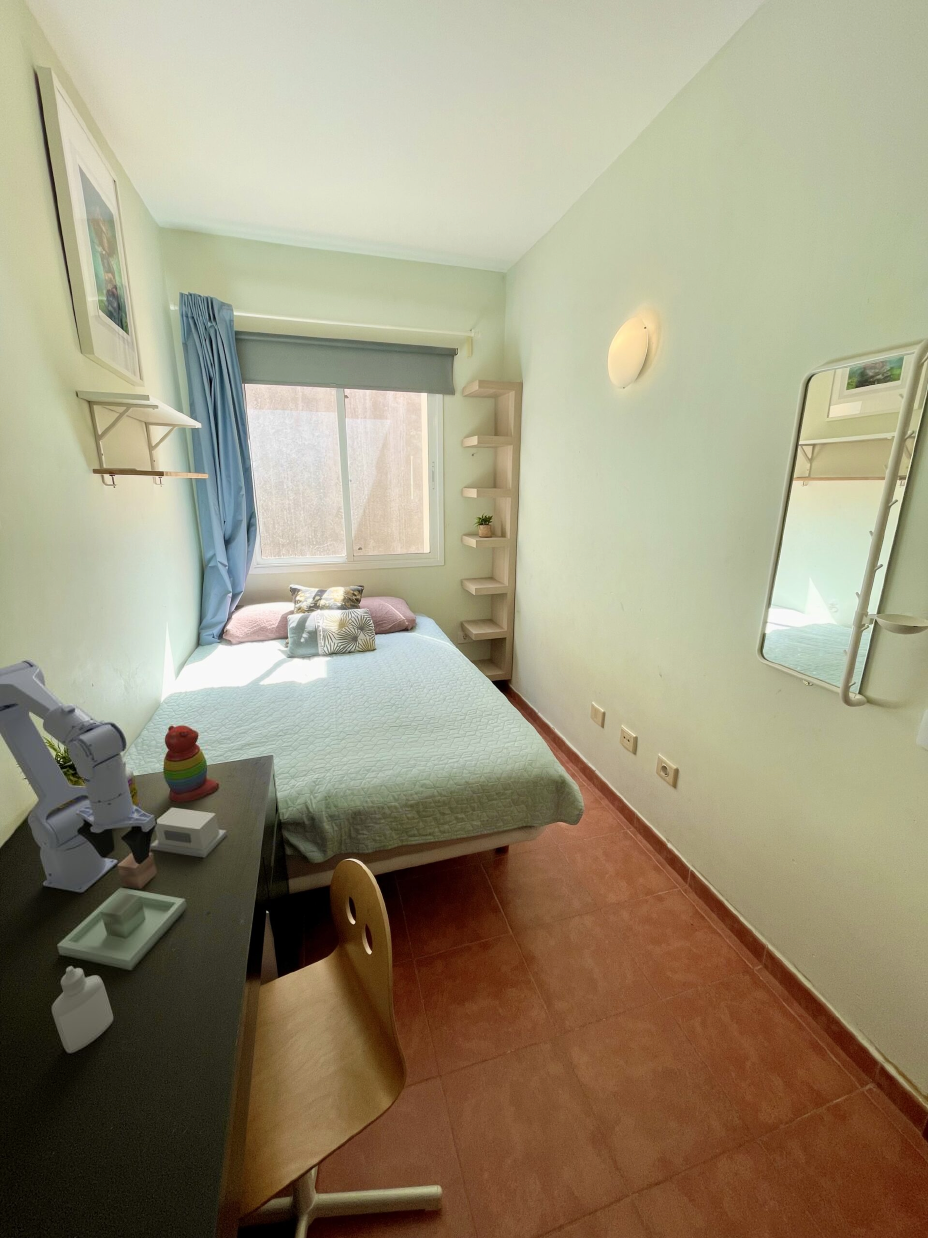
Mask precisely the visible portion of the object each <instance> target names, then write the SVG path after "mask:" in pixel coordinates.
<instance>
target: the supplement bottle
mask: <svg viewBox="0 0 928 1238" xmlns="http://www.w3.org/2000/svg"><path fill="white" fill-rule="evenodd" d="M122 760H123V764H124V769H125V773H126V777H127V781H128V786H129V790H130V794H131V798H132V802H133V805H135V806H136V807H138V808H139V809H140V807H141V802H140V796H139V792H138V788H137V785H136V779H135V775H134V771H133V770H132V769H131V768H130V767H128V766H127V762H126V759H125V758H123V757H122Z"/></svg>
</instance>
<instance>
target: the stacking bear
mask: <svg viewBox="0 0 928 1238" xmlns="http://www.w3.org/2000/svg"><path fill="white" fill-rule="evenodd" d="M167 730H168V732H167V733H165V734H166V735H165V737H164V744H165V747H166V748H167V750H168V751H167V752H166V753H165V755H164V759H163V767H162V768H163V769H162V771H163V772H162V773H163V776H164V777H163V778H164V780H165V783H166V784H167V787H168V788H169V794H168V798H169V799H170V800H171V801H173V802H177V803H180V802H181V803H183V802H185V803H186V802H189V801H190V802H191V801H193V800H197V799H200V798H202V797H203V798H204V797H205V795H206V796H207V794H208V795H210V794H211V793H213V791H214V792H215V791H217V790H218V789H219V787H220V783H219V782H218V781H217V780H214V779H210V778H207V773H208V772H207V771H208V764H207V759H206V756H205V755H204V752H203V751H202V749H201V747H200V746H199V744H197V742H198V739H199V732H198V731H197V730H196V729H192V728H191V727H189V726H188V725H181V724H180V725H177V726H173V725H170V726H169V727H168V729H167ZM216 789H217V790H216ZM209 793H210V794H209Z"/></svg>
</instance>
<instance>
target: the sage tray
mask: <svg viewBox="0 0 928 1238" xmlns="http://www.w3.org/2000/svg"><path fill="white" fill-rule="evenodd" d="M121 892H122V893H127V894H133V895H138V896H140V897H141V901H142V905H143V909H144V913H145V917H146V919H145V920H144V921H143V922H142V923H141V924H140V925H139V926H138V927H137V928H136V929H135V930H134V931H133V932H132V934H131V935H130V936H129V937H128V938H127V939H126V938H121V937H116V936H111V935H107V933H106V930H105V926H104V922H103V919H102V915H101V912H100V911H101V910H102V909H103V908H105V907H106V906H107V905H108V904H109V903H110V902H111V901H112V900H113V899H114V898H115V897H116V896H118V895H119V894H120V893H121ZM186 910H187V903H186V899H185V898H180V897H175V896H169V895H164V894H159V893H152V892H147V891H142V890H138V889H136V890H135V889H132V888H131V889H130V888H127V887H119V888H118V889H117V890H115V892H114V893H113V894H112V895H110V896H109V897H108V898H107V899H105V901H103V903H101V904H100V905H99V906H98V907H97V908H96V909H95V910H94V911H93V912H92V913H91V914H90V915H89V916H87V917H86V918H85V919H84V920H83V921H82V922H80V923H79V924H78V926H77V927H75V928H74V929H73V930H72V931H71V932H70V933H69V934H68V935H67V936H65V938H63V939H62V940H61V941H60V942H59V943H58V944H57V949H58V952H59V955H60V956H66V957H70V958H74V959H78V960H84V961H88V962H92V963H96V964H97V963H98V964H101V965H106V966H110V967H115V968H120V969H123V970H129V971H132V970H133V969H134V968H135V967H136V966H137V964H138V963H140V961H141V960H142V959H143V958H145V956H146V955H147V954H148V952H149V951H150V950H151V949H152V948H153V947H154V945H156V943H158V941H159V940H160V938H161V937H163V936H164V934H165V933H166V932H167V931H168V930H169V929H170V928H171V927H172V925H173V924H174V923H175V922H176V920H178V918H179V917H180V916H181V915H182V914H183V913H184V912H185V911H186Z"/></svg>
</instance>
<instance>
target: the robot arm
mask: <svg viewBox="0 0 928 1238" xmlns="http://www.w3.org/2000/svg"><path fill="white" fill-rule="evenodd" d="M45 680H46V679H45V675H44V673H43V671H42V669H41V667H40V666H39V665H38V664H37V663H35V662H34V661H31V660H29V659H25V660H22V661H21V662H18V663H14V664H10V665H7V666H5V667H0V736H1V737H2V739H3V741H4V742H5V744H6V746H7V748H8V750H9V751H10V753H11V754H12V756H13V758H14V760H15V761H16V763H17V765H18V766H19V768H20V770H21V771H22V774H23V776H25V779H26V780H27V781H28V783H29V785H30V787H31V789H32V790H33V792H34V794H35V795H36V797H37V799H38V800H37V802H36V804H35V805H34V807H32V810H31V811H30V813H29V815H28V818H27V823H28V825H29V826H30V828H31V833H32V836H33V837H32V838H34V840H35V841H34V842H36V844H37V845H38V846H39V847H40V850H39V857H40V861H41V864H42V867H43V870H44V873H45V877H46V880H45V881H44V882H43V883H42V885H43V887H48V888H56V889H59V890H60V889H61V890H66V891H71V892H76V893H84V892H85V891H86V890H87V889H89V888H90V887H92V885H93V884H94V883H96V882H97V881H98V880H99V879H100V878H102V877H104V875H105V874H106V873H107V872H109V871H110V870H111V869H112V868H113V867H114V866H116V865H118V864H119V863H118V860H117V859H112V858H107V857H108V856H109V855H111V853H113V852H114V851H115V841H114V840H115V839H114V835H113V829H120V828H130V830H128V831H127V832H126V833H125V834H123V836H121V837H120V838H121V840H122V841H123V842H124V843H125V844H126V845H127V846H128V847H129V849H130V851H131V853H132V854H133V857H134V860H135V862H136V863H137V864H141V863H142V862H144V861H145V860H146V859H147V858H148V857H149V852H150V851H151V846H150V845H151V844H152V843H151V842H152V838H153V834H154V831H155V827H156V825H157V819H158V818H155V815H154V814H149V813H147V812H145V811H144V810H142V809H140V807H139V808H138V807H136V806H135V805H133V802H132V798H131V794H130V790H129V786H128V781H127V777H126V773H125V769H124V764H123V760H122V758H123V757H122V754H121V753H122V752H123V753H124V751H126V749H127V744H128V743H127V738H126V735H125V734H124V732H123V731H122V729H121V728H120V727H119V726H118V725H117V724H116V723H114V722H113V721H104V720H101V721H98V720H97V719H96V718H94V717H93V716H91V715H90V714H88V712H86V711H85V710H84V709H82V708H80V707H79V706H78V705H77V704H74V703H65V704H64V703H62V701H61V700H60V699H59V698H58V697H57V696H56V695H55V694H54V693H53V692H51V690H49V689H48V688H47V687H46V681H45ZM30 713H31V714H33V715H35V717H38V718H39V719H41V720H42V721H43V722H42V728H43V730H44V732H46V733H47V734H48V735H50V736H51V737H52V738H53V739H55V740H56V741H57V742H59V744H61V745H62V746H64V748H66V749H67V754H68V757H69V759H70V760H71V762H72V763H73V765H74V767H75V769H76V772H77V774H78V776H79V777H81V778H83V779H82V780H83V782H84V785H72V784H70V783H69V781H68V779H67V778H66V776H65V774H64V773H63V771H62V769H61V767H60V766H59V764H58V762H57V760H56V759H55V757H54V755H53V754H52V752H51V750H50V748H49V747H48V745H47V743H46V741H45V739H44V738H43V736H42V734H41V733H40V731H39V730H38V728H37V725H35V723H34V720H33V719H32V718H31V717H32V716H30ZM70 801H72V802H70ZM69 802H70V803H69ZM67 803H68V804H67ZM64 804H66V805H65V806H63V805H64ZM61 806H63V807H61ZM59 807H61V808H59ZM58 808H59V809H58ZM55 809H57V810H55ZM53 810H55V811H53ZM52 811H53V812H52ZM51 812H52V813H51Z"/></svg>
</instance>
